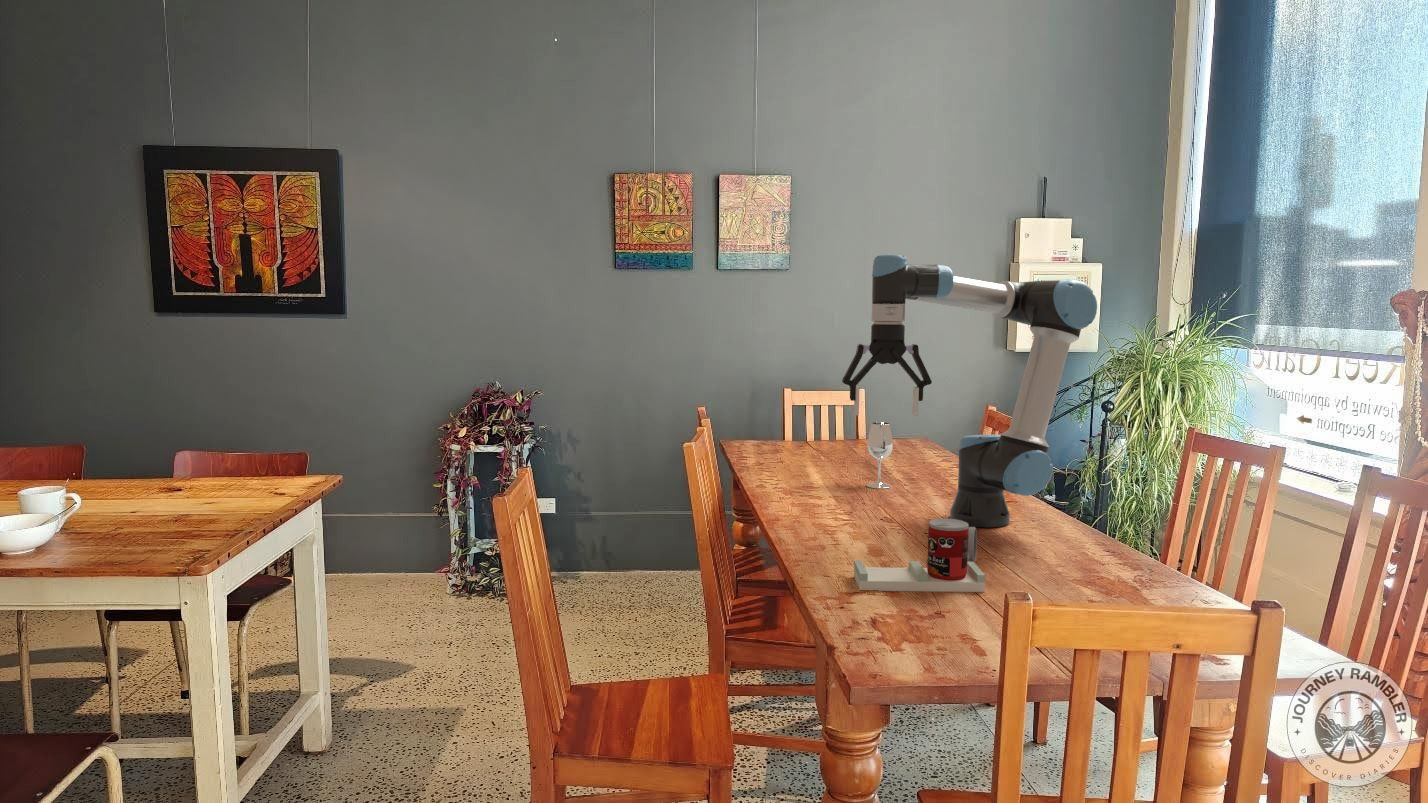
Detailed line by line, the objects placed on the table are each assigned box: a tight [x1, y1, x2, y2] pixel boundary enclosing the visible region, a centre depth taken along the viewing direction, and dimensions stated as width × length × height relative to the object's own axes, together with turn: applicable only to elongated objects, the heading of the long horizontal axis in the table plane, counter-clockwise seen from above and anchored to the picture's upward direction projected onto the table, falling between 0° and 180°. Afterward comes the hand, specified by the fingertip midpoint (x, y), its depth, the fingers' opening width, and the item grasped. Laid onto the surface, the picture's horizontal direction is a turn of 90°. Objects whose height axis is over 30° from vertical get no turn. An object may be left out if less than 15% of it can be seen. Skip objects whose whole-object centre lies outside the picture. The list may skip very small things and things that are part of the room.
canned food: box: [926, 517, 970, 580], centre depth 176 cm, size 8×8×11 cm
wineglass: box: [866, 421, 894, 490], centre depth 268 cm, size 8×8×20 cm
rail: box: [853, 559, 986, 593], centre depth 177 cm, size 25×9×4 cm, turn 88°
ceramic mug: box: [967, 526, 978, 563], centre depth 192 cm, size 11×8×8 cm
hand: (885, 415), depth 199 cm, fingers open, 13 cm apart
